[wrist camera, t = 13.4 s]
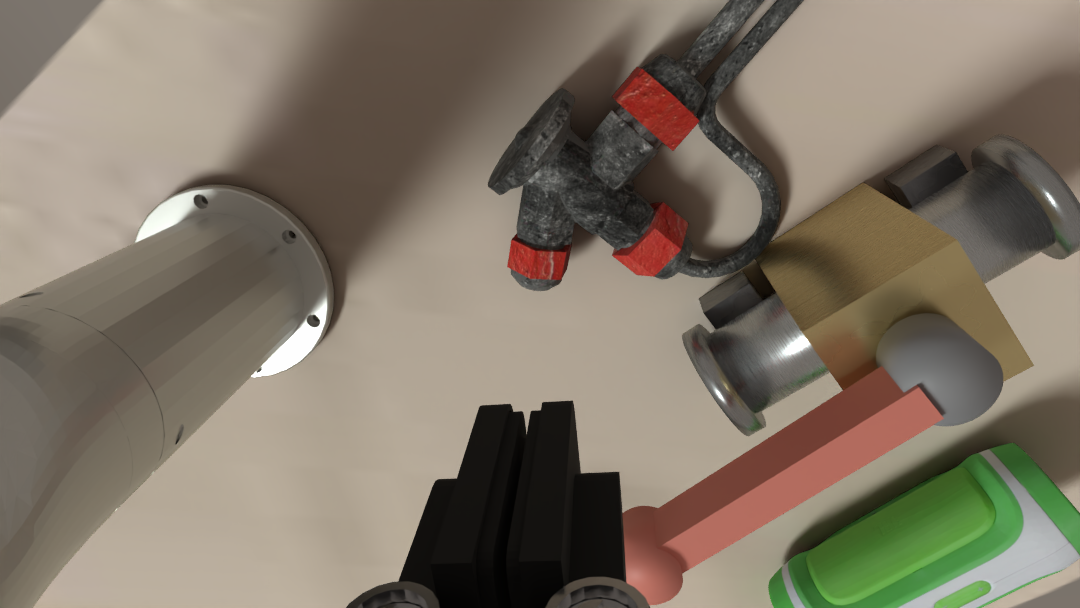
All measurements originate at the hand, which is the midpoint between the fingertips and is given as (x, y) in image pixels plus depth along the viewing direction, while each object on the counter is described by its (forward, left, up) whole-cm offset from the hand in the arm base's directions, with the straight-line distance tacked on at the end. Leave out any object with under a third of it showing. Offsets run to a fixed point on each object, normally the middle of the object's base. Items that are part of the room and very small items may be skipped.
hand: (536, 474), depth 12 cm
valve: (+7, -2, -29) cm, 30 cm away
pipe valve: (+8, -14, -29) cm, 33 cm away
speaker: (+2, -32, -29) cm, 43 cm away
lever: (+1, -14, -17) cm, 22 cm away
